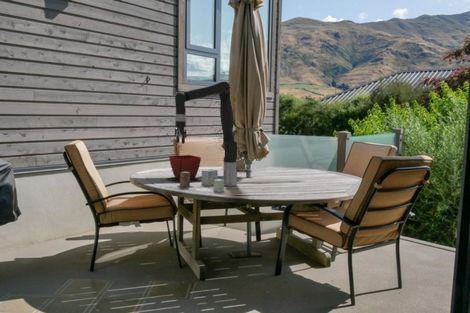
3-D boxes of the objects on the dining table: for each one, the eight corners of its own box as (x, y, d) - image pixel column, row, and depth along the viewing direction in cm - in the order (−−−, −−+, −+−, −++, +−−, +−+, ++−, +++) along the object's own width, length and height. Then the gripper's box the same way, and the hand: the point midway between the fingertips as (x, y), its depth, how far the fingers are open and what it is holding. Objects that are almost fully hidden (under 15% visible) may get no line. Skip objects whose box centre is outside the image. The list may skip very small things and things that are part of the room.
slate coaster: (187, 185, 307) (187, 184, 307) (193, 187, 300) (193, 186, 300) (176, 186, 302) (176, 185, 302) (182, 188, 295) (182, 187, 295)
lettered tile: (206, 188, 298) (206, 188, 297) (212, 190, 290) (212, 190, 290) (194, 189, 293) (194, 189, 293) (201, 192, 285) (201, 191, 285)
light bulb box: (211, 183, 321) (211, 168, 320) (217, 184, 316) (218, 169, 315) (201, 184, 312) (201, 170, 311) (207, 186, 308) (208, 171, 307)
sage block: (218, 190, 292) (218, 178, 291) (223, 191, 289) (224, 179, 288) (213, 191, 288) (213, 179, 287) (218, 192, 285) (218, 180, 284)
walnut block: (186, 185, 305) (186, 171, 304) (189, 186, 300) (189, 172, 299) (180, 186, 302) (180, 172, 301) (183, 187, 298) (183, 173, 297)
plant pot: (180, 180, 330) (180, 158, 328) (168, 176, 345) (168, 156, 343) (201, 178, 341) (201, 157, 339) (189, 175, 356) (189, 154, 355)
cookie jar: (250, 171, 388) (251, 135, 384) (222, 170, 387) (223, 135, 384) (248, 167, 412) (249, 134, 409) (223, 166, 412) (223, 133, 408)
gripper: (189, 121, 303) (189, 143, 305) (180, 120, 315) (180, 142, 317) (180, 120, 299) (180, 144, 301) (171, 120, 311) (171, 142, 313)
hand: (180, 143), depth 309 cm, fingers open, 8 cm apart
